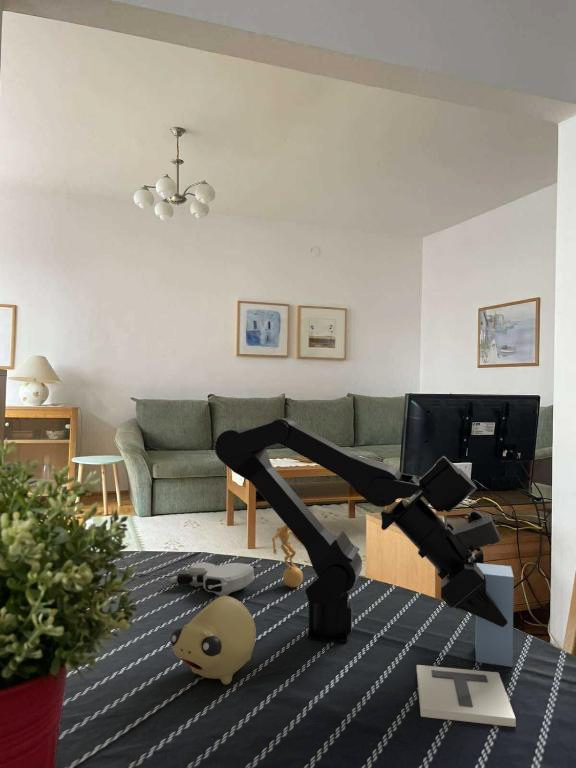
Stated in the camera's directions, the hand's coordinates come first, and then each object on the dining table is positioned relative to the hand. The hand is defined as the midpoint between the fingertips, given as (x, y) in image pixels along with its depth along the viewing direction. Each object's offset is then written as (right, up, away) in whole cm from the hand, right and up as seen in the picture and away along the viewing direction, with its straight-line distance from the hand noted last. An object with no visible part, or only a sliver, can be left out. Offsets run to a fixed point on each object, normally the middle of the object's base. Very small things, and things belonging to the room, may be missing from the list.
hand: (503, 612), depth 86 cm
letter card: (-9, -7, -11) cm, 16 cm away
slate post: (-1, -7, 0) cm, 7 cm away
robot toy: (-46, -6, +28) cm, 54 cm away
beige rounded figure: (-42, -7, -7) cm, 43 cm away
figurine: (-32, -6, +29) cm, 44 cm away
